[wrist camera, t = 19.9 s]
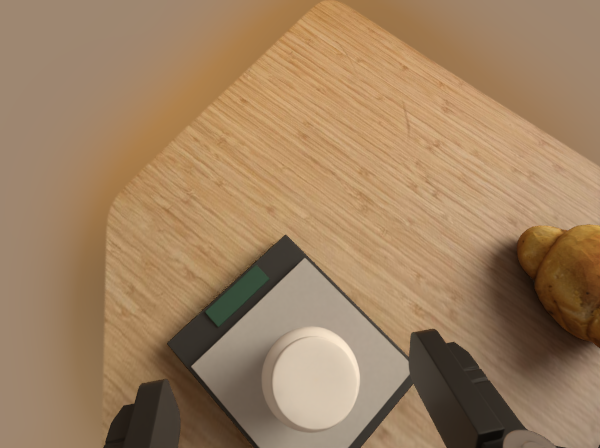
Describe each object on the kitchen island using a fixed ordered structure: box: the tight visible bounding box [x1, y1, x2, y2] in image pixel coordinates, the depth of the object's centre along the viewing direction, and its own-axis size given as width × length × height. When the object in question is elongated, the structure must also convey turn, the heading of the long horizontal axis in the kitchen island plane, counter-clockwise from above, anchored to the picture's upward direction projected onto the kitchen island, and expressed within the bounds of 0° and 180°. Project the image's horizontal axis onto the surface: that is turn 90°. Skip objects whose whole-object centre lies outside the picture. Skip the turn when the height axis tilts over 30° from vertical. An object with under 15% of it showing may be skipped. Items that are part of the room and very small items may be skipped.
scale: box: [167, 235, 413, 448], centre depth 32 cm, size 14×17×3 cm
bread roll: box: [517, 225, 600, 348], centre depth 32 cm, size 13×10×8 cm
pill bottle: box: [262, 326, 360, 433], centre depth 25 cm, size 6×6×11 cm
